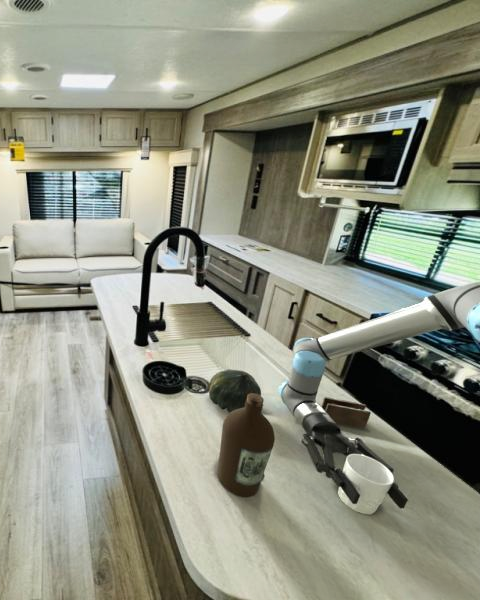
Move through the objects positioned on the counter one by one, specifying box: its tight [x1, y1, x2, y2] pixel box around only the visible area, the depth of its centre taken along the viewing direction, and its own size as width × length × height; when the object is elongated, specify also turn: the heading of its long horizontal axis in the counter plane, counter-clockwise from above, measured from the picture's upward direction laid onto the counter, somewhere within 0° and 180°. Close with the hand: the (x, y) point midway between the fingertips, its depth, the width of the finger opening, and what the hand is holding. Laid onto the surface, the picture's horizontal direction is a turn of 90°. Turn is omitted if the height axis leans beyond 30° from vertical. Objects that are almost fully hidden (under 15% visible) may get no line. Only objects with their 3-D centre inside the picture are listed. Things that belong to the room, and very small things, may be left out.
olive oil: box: [216, 393, 276, 498], centre depth 73 cm, size 11×11×25 cm
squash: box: [208, 369, 262, 413], centre depth 100 cm, size 14×15×15 cm
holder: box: [320, 396, 372, 430], centre depth 93 cm, size 10×5×7 cm, turn 68°
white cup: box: [337, 454, 395, 515], centre depth 70 cm, size 8×8×10 cm
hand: (379, 501), depth 65 cm, fingers open, 8 cm apart
